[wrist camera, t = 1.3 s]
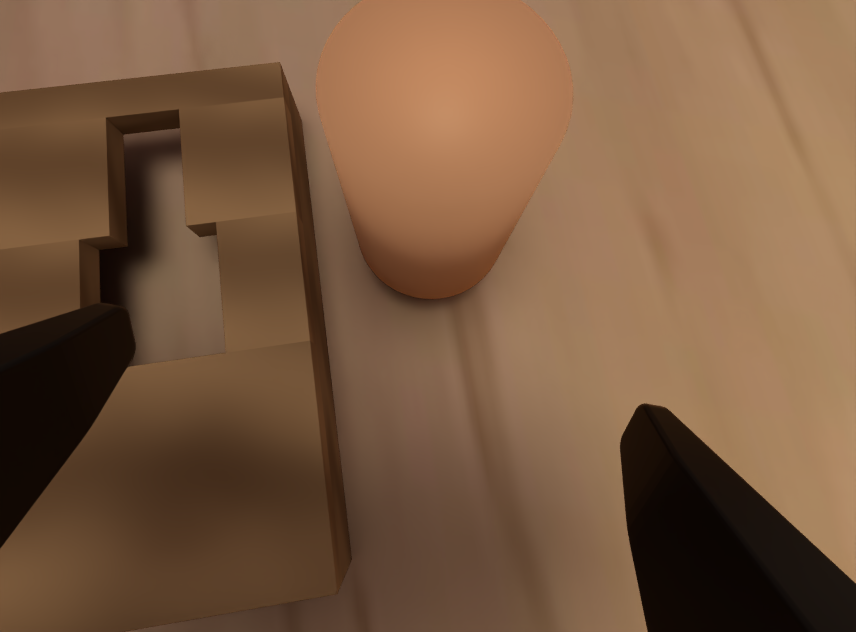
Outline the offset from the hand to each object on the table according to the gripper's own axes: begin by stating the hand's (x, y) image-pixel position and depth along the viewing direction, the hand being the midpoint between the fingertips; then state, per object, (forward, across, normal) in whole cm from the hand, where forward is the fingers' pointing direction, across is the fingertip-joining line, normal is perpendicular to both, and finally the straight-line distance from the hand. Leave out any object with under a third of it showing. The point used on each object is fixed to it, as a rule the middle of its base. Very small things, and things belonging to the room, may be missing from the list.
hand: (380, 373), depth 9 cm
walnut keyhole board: (+10, +9, +9) cm, 16 cm away
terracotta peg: (+14, 0, +4) cm, 15 cm away
